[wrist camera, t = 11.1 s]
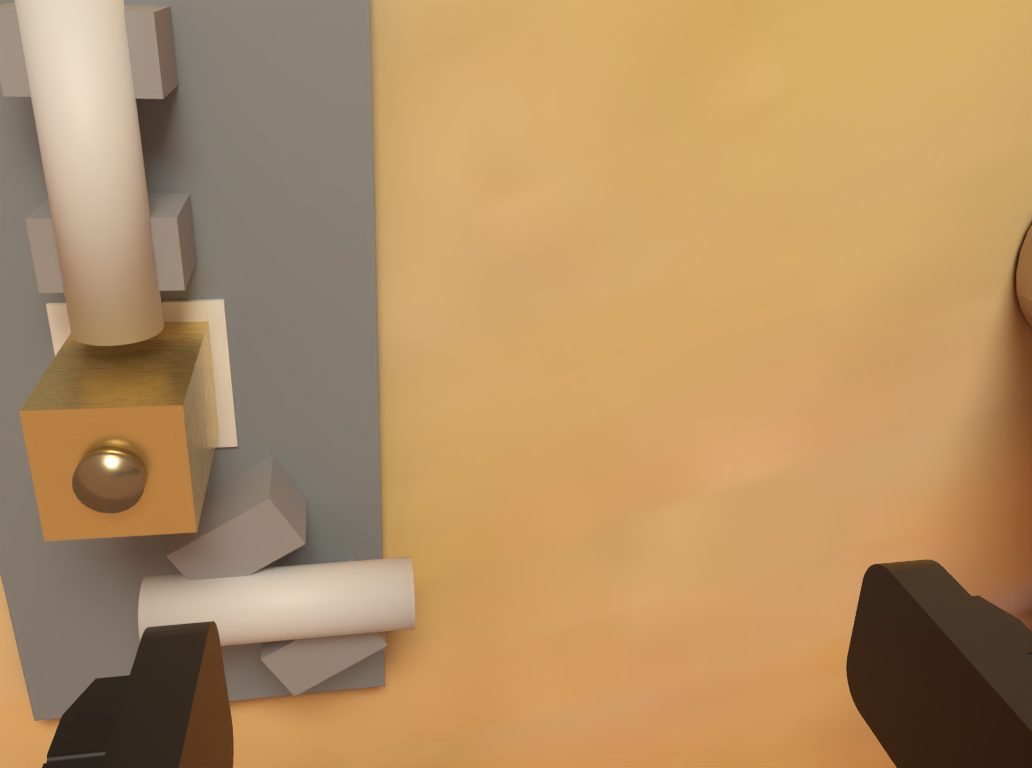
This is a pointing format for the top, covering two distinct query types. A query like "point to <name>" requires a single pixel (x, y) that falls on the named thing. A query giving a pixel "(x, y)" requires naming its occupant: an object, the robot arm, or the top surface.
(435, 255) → the top surface
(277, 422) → the shaft base
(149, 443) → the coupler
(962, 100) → the top surface
